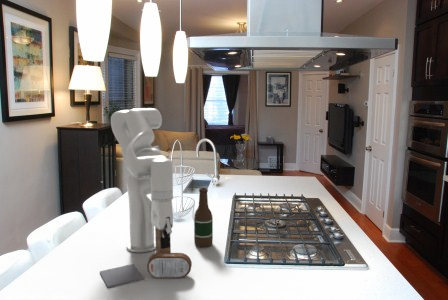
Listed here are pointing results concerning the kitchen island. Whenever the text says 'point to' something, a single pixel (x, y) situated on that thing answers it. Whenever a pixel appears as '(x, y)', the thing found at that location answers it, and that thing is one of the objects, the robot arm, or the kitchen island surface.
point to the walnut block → (158, 242)
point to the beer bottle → (203, 222)
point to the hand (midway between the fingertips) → (163, 244)
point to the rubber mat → (121, 275)
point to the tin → (169, 265)
